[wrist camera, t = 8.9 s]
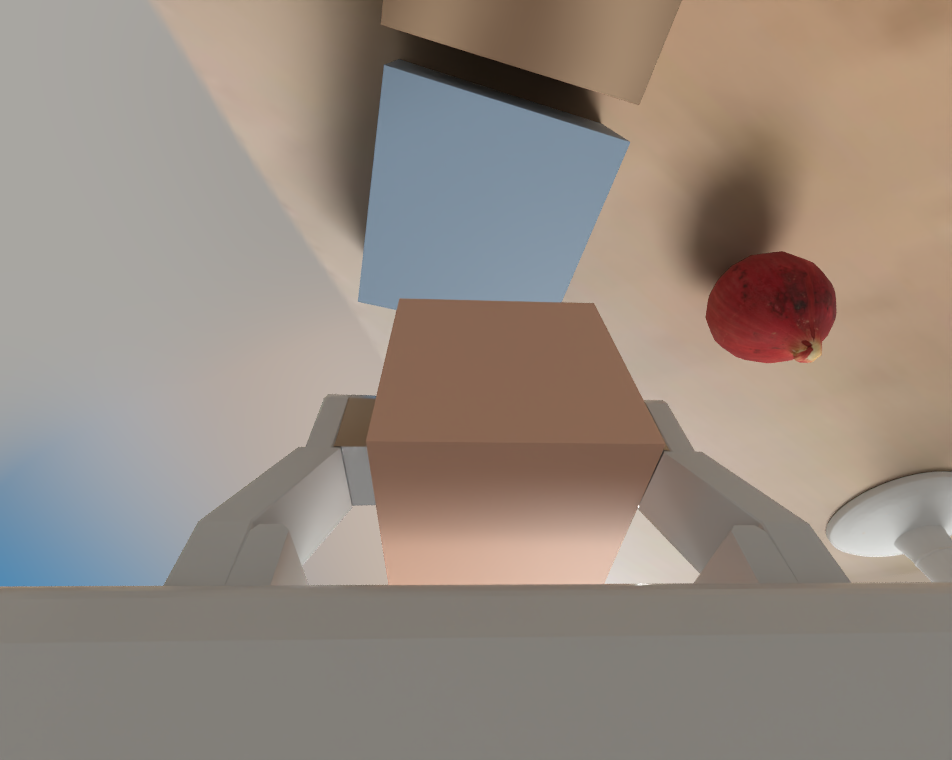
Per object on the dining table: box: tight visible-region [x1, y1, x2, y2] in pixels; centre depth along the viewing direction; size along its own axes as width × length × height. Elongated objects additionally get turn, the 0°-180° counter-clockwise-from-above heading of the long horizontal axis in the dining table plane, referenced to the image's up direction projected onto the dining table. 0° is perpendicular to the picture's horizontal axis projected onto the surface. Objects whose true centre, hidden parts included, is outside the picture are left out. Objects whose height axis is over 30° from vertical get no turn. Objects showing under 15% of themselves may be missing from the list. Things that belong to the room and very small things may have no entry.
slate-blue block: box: [358, 59, 630, 310], centre depth 22 cm, size 10×10×5 cm
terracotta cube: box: [366, 298, 666, 585], centre depth 10 cm, size 4×4×4 cm
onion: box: [706, 251, 836, 363], centre depth 24 cm, size 6×6×8 cm
